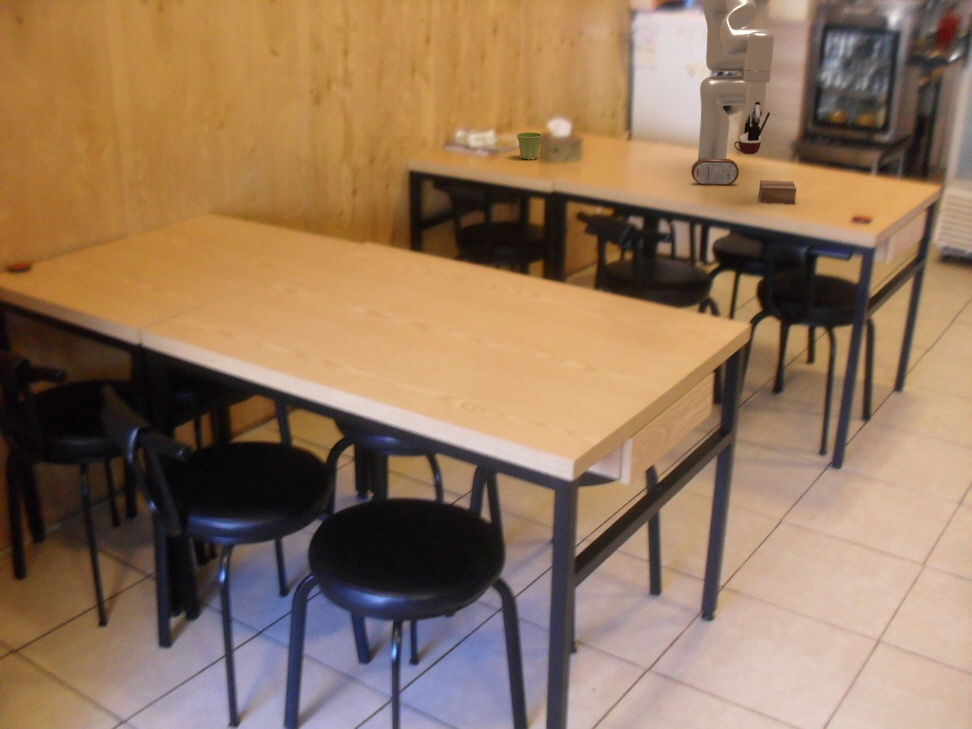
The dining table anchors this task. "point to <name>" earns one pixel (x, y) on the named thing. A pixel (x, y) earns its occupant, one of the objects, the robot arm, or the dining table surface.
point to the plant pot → (529, 144)
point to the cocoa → (750, 146)
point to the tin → (715, 171)
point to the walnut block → (777, 192)
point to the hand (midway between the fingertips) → (751, 137)
